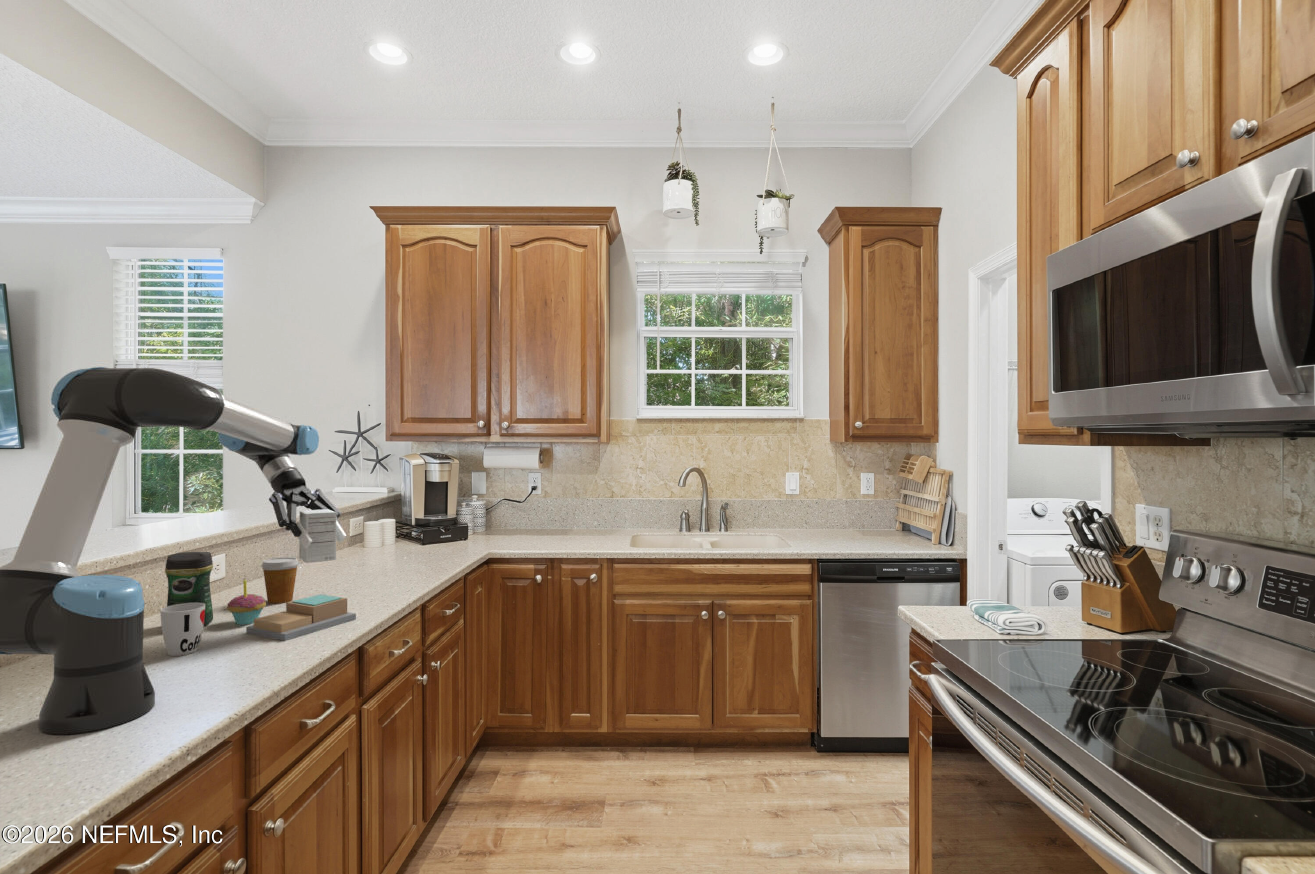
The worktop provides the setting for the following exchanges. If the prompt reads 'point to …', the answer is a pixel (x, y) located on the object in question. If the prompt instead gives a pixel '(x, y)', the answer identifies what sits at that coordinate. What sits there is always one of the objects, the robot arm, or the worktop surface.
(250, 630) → the build base
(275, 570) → the disposable coffee cup
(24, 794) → the worktop surface
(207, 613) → the coffee jar
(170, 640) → the cup
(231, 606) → the cupcake
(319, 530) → the supplement box
